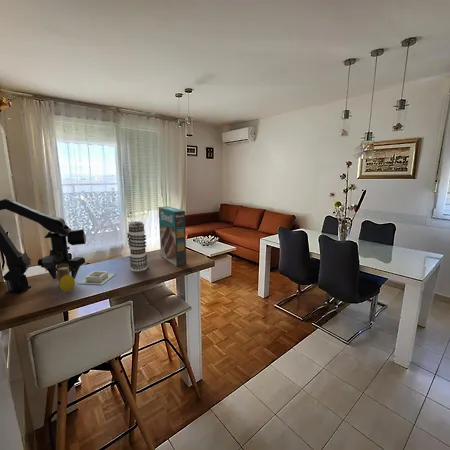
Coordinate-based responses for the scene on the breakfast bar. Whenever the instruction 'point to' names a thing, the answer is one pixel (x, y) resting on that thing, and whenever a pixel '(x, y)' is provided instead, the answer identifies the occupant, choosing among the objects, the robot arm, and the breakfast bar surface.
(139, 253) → the decorative candle
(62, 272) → the peg
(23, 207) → the robot arm
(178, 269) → the breakfast bar surface
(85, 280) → the socket
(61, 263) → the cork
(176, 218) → the cake mix box
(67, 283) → the lemon
